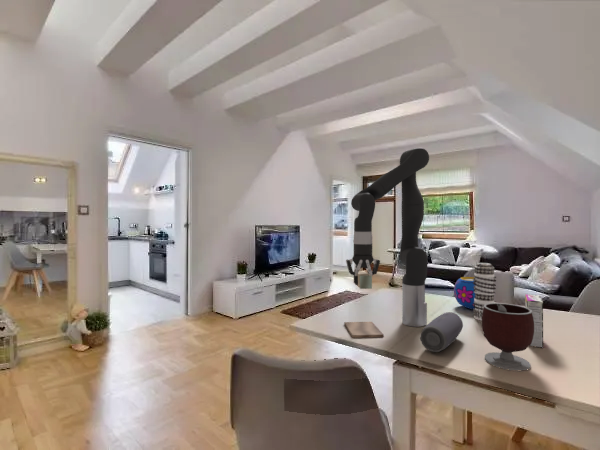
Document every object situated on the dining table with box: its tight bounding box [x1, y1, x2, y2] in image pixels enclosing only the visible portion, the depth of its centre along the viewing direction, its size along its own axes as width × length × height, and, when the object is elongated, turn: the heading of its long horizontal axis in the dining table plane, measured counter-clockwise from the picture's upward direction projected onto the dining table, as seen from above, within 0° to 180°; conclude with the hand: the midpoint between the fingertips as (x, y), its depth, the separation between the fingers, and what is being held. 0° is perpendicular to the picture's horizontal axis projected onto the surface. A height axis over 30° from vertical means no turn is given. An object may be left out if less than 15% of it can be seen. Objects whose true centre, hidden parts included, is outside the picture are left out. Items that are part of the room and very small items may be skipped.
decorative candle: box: [473, 262, 497, 321], centre depth 149 cm, size 9×9×25 cm
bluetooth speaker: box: [419, 311, 464, 353], centre depth 117 cm, size 23×9×10 cm, turn 141°
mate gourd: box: [481, 302, 534, 371], centre depth 102 cm, size 16×14×20 cm
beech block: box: [353, 270, 373, 290], centre depth 134 cm, size 4×5×12 cm
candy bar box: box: [524, 293, 544, 349], centre depth 120 cm, size 11×5×16 cm, turn 148°
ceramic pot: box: [453, 276, 475, 310], centre depth 166 cm, size 18×18×15 cm
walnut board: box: [343, 321, 384, 339], centre depth 133 cm, size 12×16×1 cm
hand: (362, 284), depth 133 cm, fingers closed on beech block, 4 cm apart
